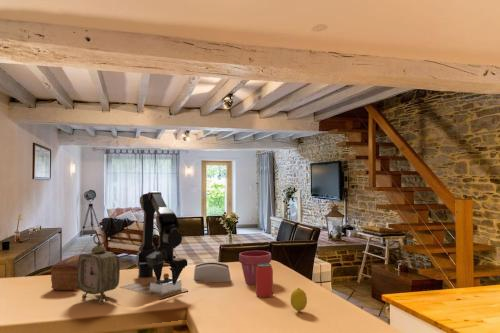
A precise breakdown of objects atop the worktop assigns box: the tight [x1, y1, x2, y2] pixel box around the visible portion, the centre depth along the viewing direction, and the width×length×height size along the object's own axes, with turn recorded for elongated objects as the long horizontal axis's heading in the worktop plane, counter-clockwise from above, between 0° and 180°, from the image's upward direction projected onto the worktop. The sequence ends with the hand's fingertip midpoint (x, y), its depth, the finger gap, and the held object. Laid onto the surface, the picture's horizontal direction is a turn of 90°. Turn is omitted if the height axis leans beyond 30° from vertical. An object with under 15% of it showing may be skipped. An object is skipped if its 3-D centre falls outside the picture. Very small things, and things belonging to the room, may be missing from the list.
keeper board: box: [119, 272, 189, 301], centre depth 154 cm, size 26×14×8 cm, turn 54°
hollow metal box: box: [150, 276, 182, 296], centre depth 149 cm, size 7×10×4 cm
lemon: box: [290, 287, 308, 313], centre depth 127 cm, size 6×6×8 cm
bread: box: [50, 253, 82, 291], centre depth 167 cm, size 14×28×12 cm, turn 176°
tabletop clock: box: [78, 233, 121, 305], centre depth 143 cm, size 14×9×25 cm, turn 56°
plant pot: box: [238, 250, 272, 285], centre depth 167 cm, size 14×14×13 cm
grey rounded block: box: [193, 261, 231, 283], centre depth 169 cm, size 17×5×10 cm, turn 89°
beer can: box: [255, 263, 274, 299], centre depth 146 cm, size 7×7×12 cm
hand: (166, 282), depth 150 cm, fingers open, 9 cm apart
